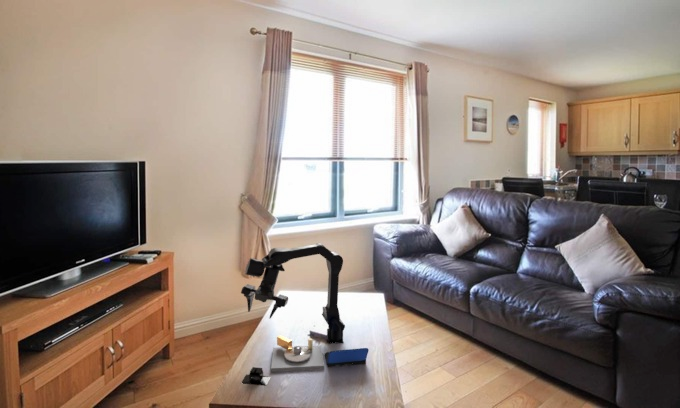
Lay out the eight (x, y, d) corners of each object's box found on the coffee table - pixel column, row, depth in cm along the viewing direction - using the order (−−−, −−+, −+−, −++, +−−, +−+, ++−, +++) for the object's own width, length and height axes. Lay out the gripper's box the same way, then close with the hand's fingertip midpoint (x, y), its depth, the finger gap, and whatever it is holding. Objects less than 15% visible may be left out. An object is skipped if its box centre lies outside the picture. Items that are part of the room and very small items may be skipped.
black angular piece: (236, 386, 130) (235, 374, 129) (243, 374, 137) (243, 362, 137) (270, 389, 129) (269, 376, 128) (275, 376, 136) (275, 365, 135)
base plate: (321, 348, 155) (321, 335, 154) (324, 369, 140) (324, 354, 139) (273, 351, 152) (273, 337, 152) (271, 372, 138) (271, 357, 137)
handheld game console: (360, 352, 153) (361, 331, 152) (368, 370, 140) (369, 348, 139) (323, 355, 151) (324, 334, 149) (328, 374, 138) (328, 351, 136)
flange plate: (309, 344, 155) (309, 333, 154) (311, 362, 142) (311, 350, 141) (277, 345, 153) (277, 335, 153) (275, 364, 140) (275, 352, 139)
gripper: (241, 276, 142) (230, 314, 143) (286, 290, 141) (275, 329, 141) (250, 270, 153) (240, 305, 154) (292, 283, 152) (282, 319, 153)
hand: (259, 315), depth 150 cm, fingers open, 9 cm apart
